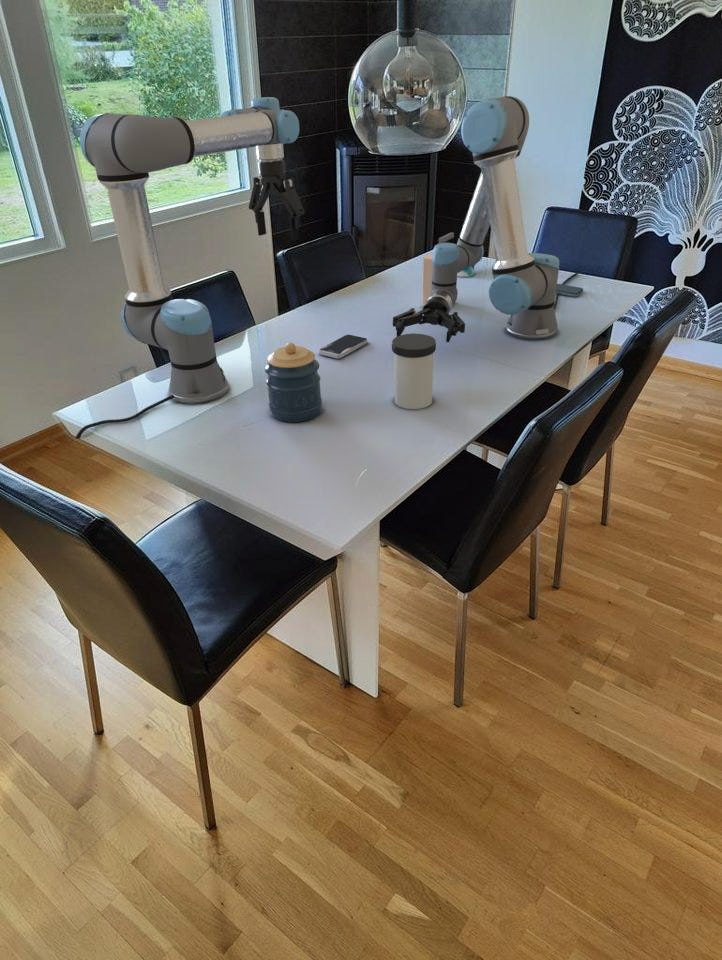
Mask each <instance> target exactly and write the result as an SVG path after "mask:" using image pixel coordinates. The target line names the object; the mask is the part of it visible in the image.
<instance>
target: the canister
mask: <svg viewBox="0 0 722 960" xmlns="http://www.w3.org/2000/svg"><path fill="white" fill-rule="evenodd" d="M266 360H267V364H265V367H264V372H265V373H266V375H267V378H266V382H265V383H266V385H267V393H268V400H269V402H268V406H269V410H270V413H271V415H272V417H273V418H275V419H276V420H279V421H282V422H288V423H289V422H290V423H296V422H297V423H298V422H304V421H308V420H311V419H313V418H315V417H317V416H318V415H319V414H320V413H321V411H322V408H323V399H322V392H321V376H320V374H319V372H318V370H319V369H320V363H319V361H318V360H317V359H316V354H315V352H313V351H312V350H309V349H308V348H306V347H304V346H299V345H296V344H294V343H293V342H287V343H286V344H285V346H283V347H279V348H277V349H275V350H274V351H273V352H272V353H270V354H269V355H268V356H267V359H266Z"/></svg>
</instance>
